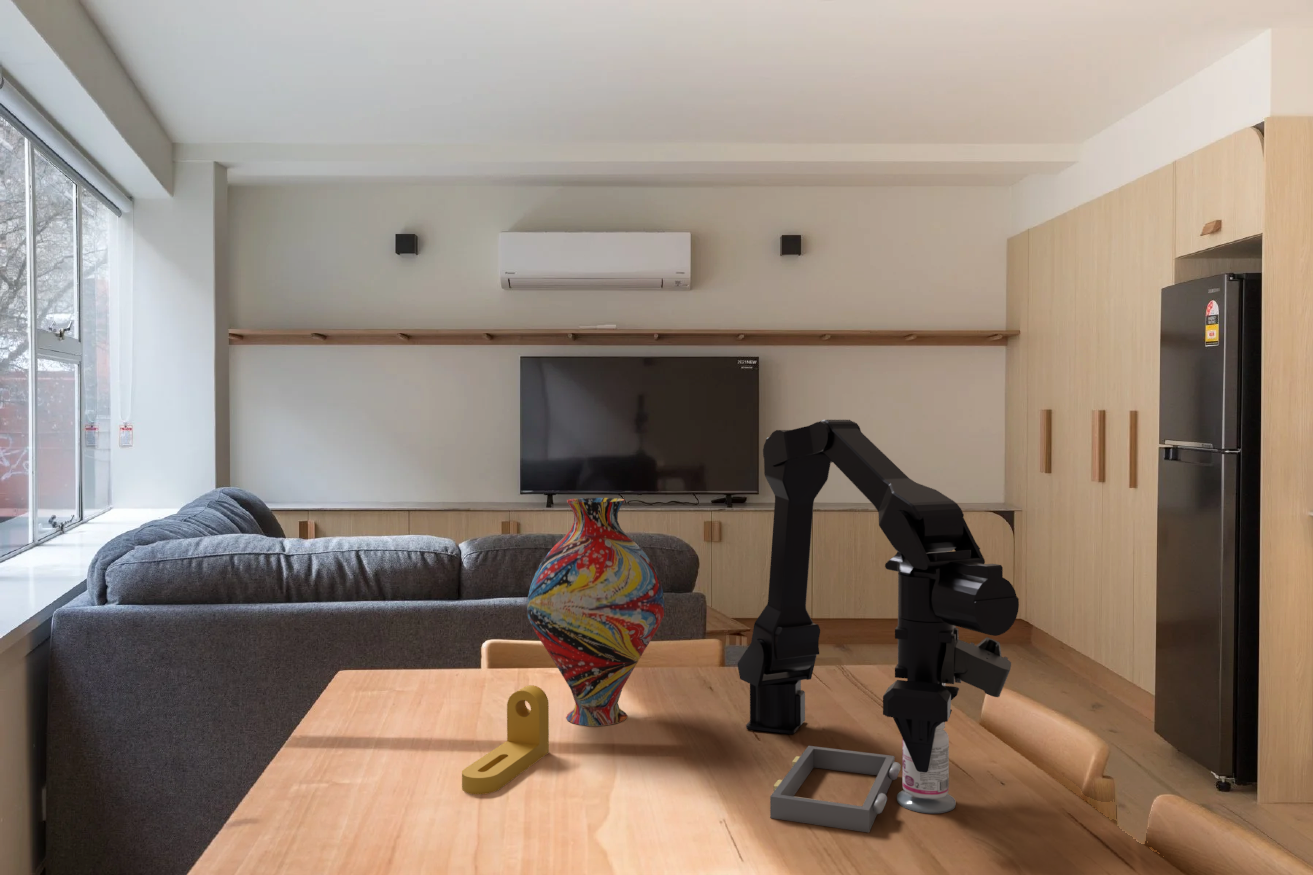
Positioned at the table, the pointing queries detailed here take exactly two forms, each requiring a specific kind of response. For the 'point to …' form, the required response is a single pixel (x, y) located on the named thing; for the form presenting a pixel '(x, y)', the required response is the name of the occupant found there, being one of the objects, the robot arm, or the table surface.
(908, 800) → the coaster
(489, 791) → the bracket
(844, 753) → the gray rectangular frame
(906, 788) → the pill bottle
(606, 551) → the vase
